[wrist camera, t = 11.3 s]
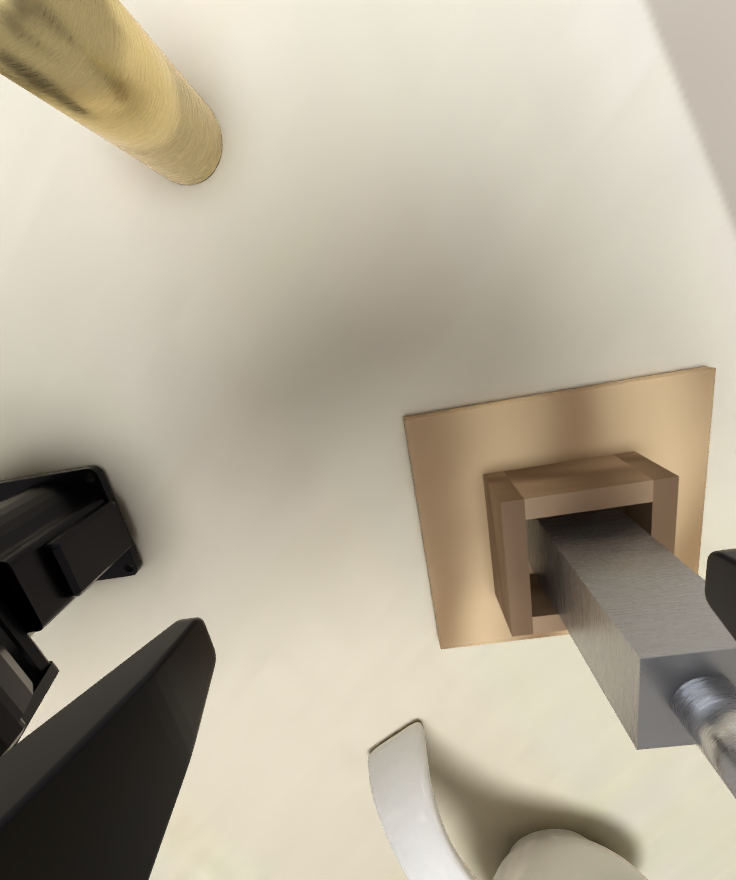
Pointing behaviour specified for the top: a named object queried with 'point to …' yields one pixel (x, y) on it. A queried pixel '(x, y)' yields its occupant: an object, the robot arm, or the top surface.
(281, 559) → the top surface
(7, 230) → the top surface
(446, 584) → the socket
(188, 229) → the top surface
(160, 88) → the rod
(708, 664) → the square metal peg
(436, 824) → the white curved piece
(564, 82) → the top surface
